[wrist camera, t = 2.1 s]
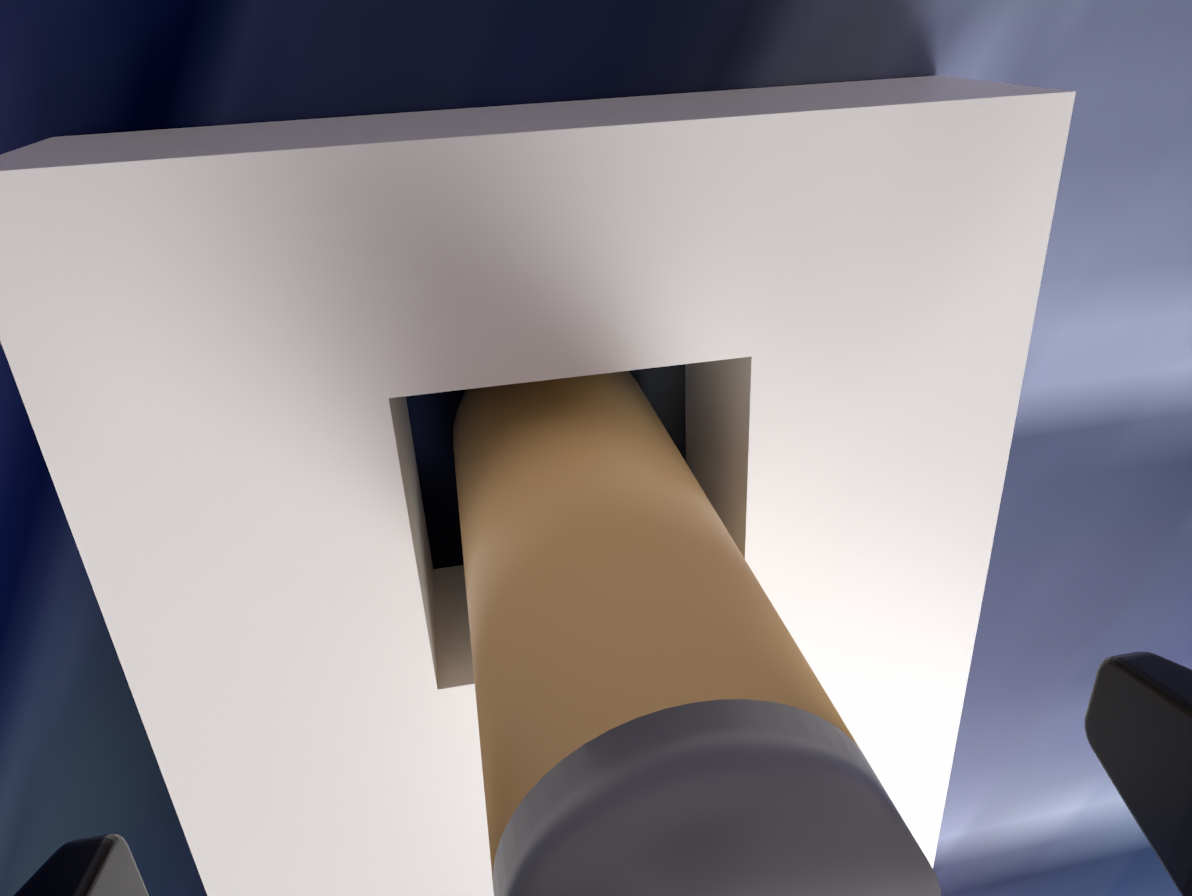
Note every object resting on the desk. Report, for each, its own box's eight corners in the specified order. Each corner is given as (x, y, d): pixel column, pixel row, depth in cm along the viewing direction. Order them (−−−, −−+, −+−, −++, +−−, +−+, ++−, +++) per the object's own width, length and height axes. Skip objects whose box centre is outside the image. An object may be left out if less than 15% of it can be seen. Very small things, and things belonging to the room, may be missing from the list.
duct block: (354, 1107, 21) (344, 1284, 18) (52, 136, 11) (-77, 180, 8) (829, 999, 23) (890, 1145, 20) (938, 75, 13) (1093, 93, 10)
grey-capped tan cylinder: (465, 533, 15) (525, 1148, 7) (440, 352, 13) (481, 861, 5) (651, 507, 15) (915, 1054, 7) (647, 330, 14) (972, 768, 6)
